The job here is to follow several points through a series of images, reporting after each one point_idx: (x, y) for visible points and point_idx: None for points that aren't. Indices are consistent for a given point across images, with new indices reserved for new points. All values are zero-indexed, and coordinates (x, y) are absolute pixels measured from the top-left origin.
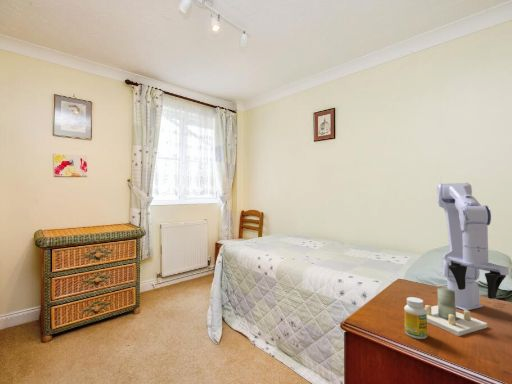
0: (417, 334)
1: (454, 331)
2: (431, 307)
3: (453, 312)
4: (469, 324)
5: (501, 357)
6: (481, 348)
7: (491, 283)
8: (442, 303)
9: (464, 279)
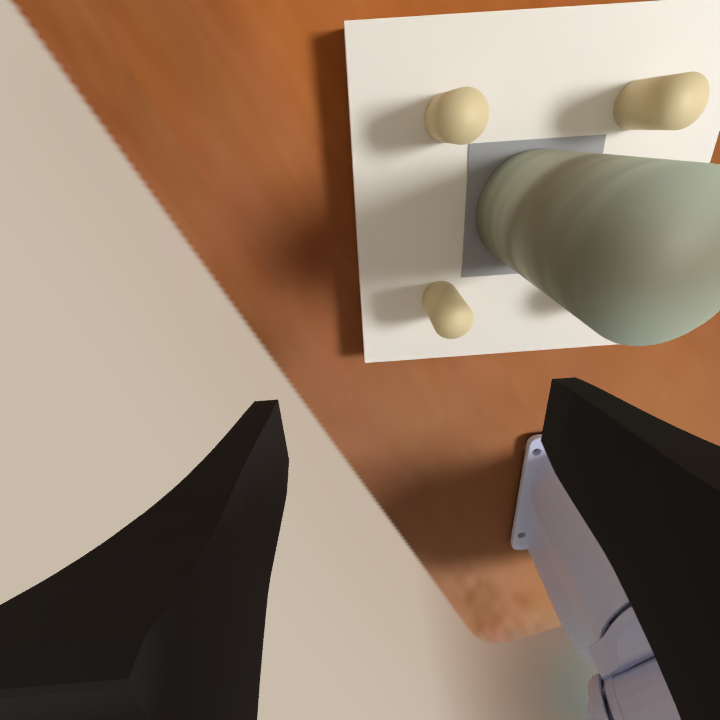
0: None
1: (375, 23)
2: None
3: (495, 211)
4: (391, 240)
5: (55, 14)
6: (172, 4)
7: (148, 524)
8: (595, 157)
9: (600, 527)
